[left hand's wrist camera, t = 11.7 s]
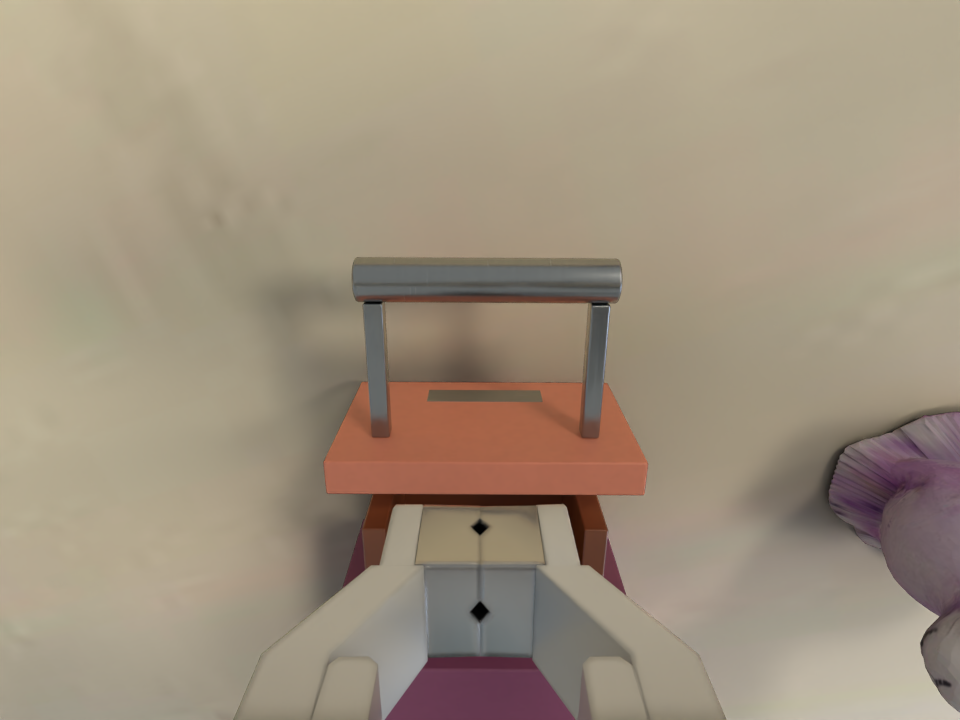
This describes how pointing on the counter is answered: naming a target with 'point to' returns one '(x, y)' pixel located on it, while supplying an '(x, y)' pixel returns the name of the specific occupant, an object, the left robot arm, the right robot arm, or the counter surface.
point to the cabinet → (480, 678)
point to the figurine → (913, 524)
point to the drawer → (486, 407)
